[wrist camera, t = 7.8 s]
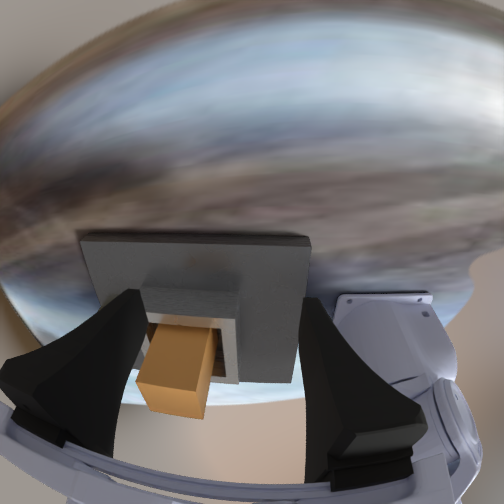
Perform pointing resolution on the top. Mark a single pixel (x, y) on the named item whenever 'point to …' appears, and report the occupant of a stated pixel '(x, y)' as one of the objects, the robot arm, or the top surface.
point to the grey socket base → (212, 292)
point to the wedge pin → (178, 370)
